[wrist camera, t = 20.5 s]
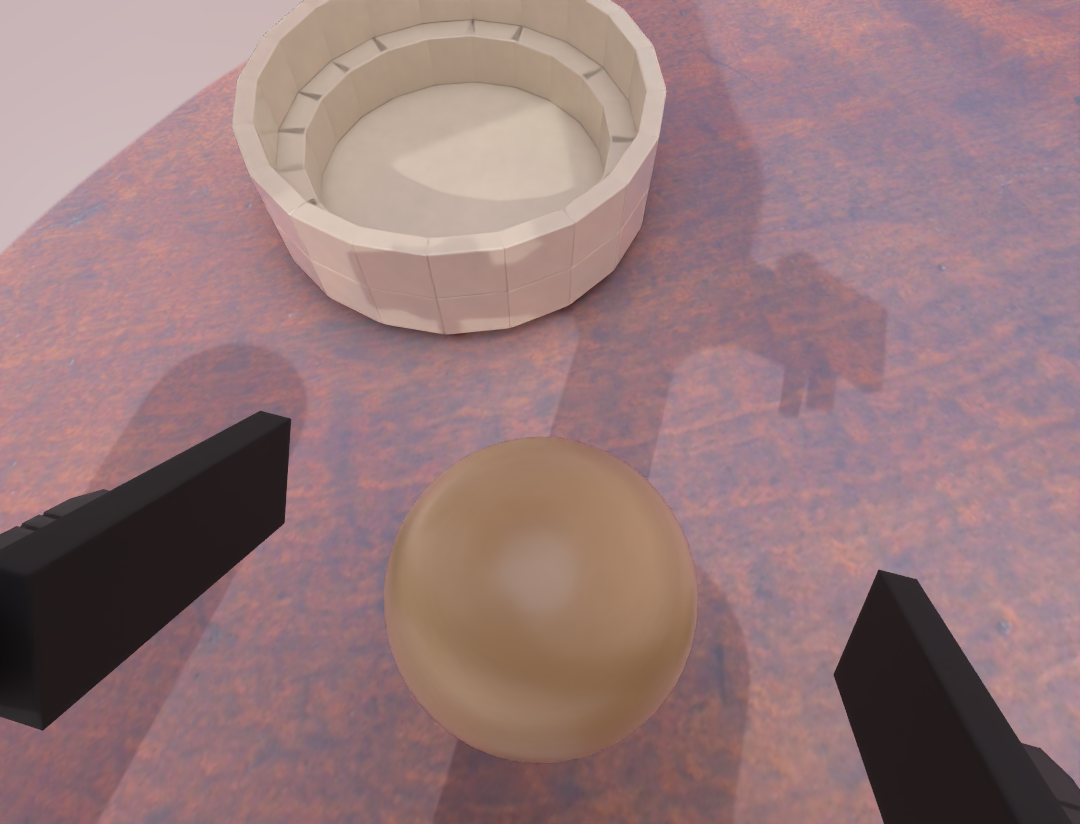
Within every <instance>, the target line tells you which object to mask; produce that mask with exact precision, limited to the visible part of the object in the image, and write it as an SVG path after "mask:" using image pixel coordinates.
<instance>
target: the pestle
mask: <svg viewBox="0 0 1080 824" xmlns="http://www.w3.org/2000/svg"><path fill="white" fill-rule="evenodd" d="M697 612H698V584H697V577H696V571H695V564H694V560H693V557H692V553H691V550H690V547H689V543H688V541H687V539H686V536H685V534H684V532H683V529H682V527H681V525H680V523H679V521H678V520H677V518H676V516H675V515H674V513H673V511H672V510H671V508H670V506H669V505H668V504H667V503H666V501H665V500H664V499H663V497H662V496H661V495H660V493H659V492H658V491H657V490H656V489H655V488H654V487H653V485H652V484H651V483H650V482H649V481H648V480H647V479H646V478H645V477H644V476H642V475H641V474H640V473H639V472H637V471H636V470H635V469H634V468H632V467H631V466H630V465H629V464H627V463H625V462H624V461H622V460H620V459H619V458H617V457H616V456H614V455H612V454H610V453H608V452H606V451H603V450H601V449H599V448H597V447H594V446H591V445H588V444H585V443H582V442H578V441H573V440H568V439H563V438H552V437H529V438H520V439H514V440H508V441H504V442H501V443H497V444H494V445H490V446H488V447H485V448H483V449H481V450H478V451H476V452H474V453H471V454H470V455H468V456H466V457H465V458H463V459H461V460H460V461H458V462H456V463H455V464H453V465H452V466H451V467H449V468H448V469H447V470H445V471H444V472H443V473H442V474H440V475H439V476H438V477H437V478H436V479H435V480H434V481H433V482H432V483H431V484H430V485H429V486H428V487H427V488H426V489H425V491H424V492H423V493H422V494H421V496H420V497H419V498H418V499H417V501H416V502H415V503H414V505H413V506H412V508H411V509H410V511H409V513H408V514H407V516H406V517H405V519H404V521H403V522H402V525H401V527H400V529H399V531H398V533H397V536H396V538H395V540H394V543H393V546H392V549H391V553H390V556H389V559H388V564H387V570H386V575H385V583H384V613H385V625H386V631H387V635H388V640H389V645H390V648H391V651H392V654H393V657H394V660H395V662H396V665H397V668H398V670H399V672H400V674H401V676H402V677H403V679H404V681H405V683H406V685H407V687H408V689H409V690H410V691H411V693H412V694H413V696H414V697H415V698H416V700H417V701H418V703H419V704H420V705H421V706H422V707H423V709H424V710H425V711H426V712H427V713H428V714H429V715H430V716H431V717H432V718H433V719H434V720H435V721H436V722H437V723H438V724H439V725H441V726H442V727H443V728H445V729H446V730H447V731H448V732H450V733H451V734H452V735H453V736H455V737H456V738H458V739H460V740H461V741H463V742H465V743H466V744H468V745H470V746H472V747H473V748H475V749H478V750H480V751H483V752H485V753H488V754H490V755H493V756H496V757H500V758H504V759H508V760H512V761H516V762H527V763H538V764H539V763H556V762H564V761H569V760H574V759H579V758H583V757H586V756H589V755H591V754H594V753H597V752H599V751H602V750H604V749H606V748H608V747H610V746H612V745H614V744H615V743H617V742H619V741H621V740H623V739H624V738H625V737H627V736H628V735H629V734H631V733H632V732H633V731H635V730H636V729H637V728H639V727H640V726H641V725H643V724H644V723H645V722H646V721H647V720H648V719H649V718H650V717H651V716H652V715H653V714H654V713H655V712H656V711H657V710H658V709H659V707H660V706H661V705H662V703H663V702H664V701H665V699H666V698H667V697H668V696H669V694H670V693H671V692H672V690H673V688H674V686H675V685H676V683H677V681H678V679H679V677H680V675H681V674H682V672H683V669H684V667H685V664H686V662H687V659H688V657H689V654H690V651H691V647H692V643H693V639H694V635H695V631H696V622H697Z"/></svg>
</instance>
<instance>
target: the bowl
mask: <svg viewBox="0 0 1080 824" xmlns="http://www.w3.org/2000/svg"><path fill="white" fill-rule="evenodd" d="M666 94H667V92H666V87H665V83H664V80H663V76H662V73H661V70H660V66H659V63H658V59H657V56H656V53H655V49H654V47H653V44H652V43H651V42H650V41H649V39H648V38H647V37H646V36H645V35H644V33H643V32H642V31H641V30H640V28H639V27H638V26H637V25H636V23H635V22H634V21H633V20H632V19H631V17H630V16H629V15H628V14H627V12H626V11H625V10H624V9H623V8H622V7H620V6H619V5H617V4H615V3H614V2H612V1H611V0H303V2H301V3H299V5H297V6H296V7H295V8H294V9H293V10H292V11H291V12H289V13H288V14H287V15H286V16H285V17H284V18H282V19H281V20H280V21H279V22H278V23H277V24H276V25H275V26H273V27H272V28H271V29H270V30H269V31H268V32H266V33H265V34H264V35H263V37H262V38H261V40H260V41H259V43H258V45H257V46H256V48H255V50H254V52H253V53H252V55H251V57H250V58H249V60H248V62H247V63H246V65H245V67H244V69H243V70H242V72H241V74H240V75H239V77H238V80H237V85H236V93H235V102H234V110H233V119H232V130H233V133H234V135H235V138H236V141H237V144H238V146H239V149H240V152H241V155H242V157H243V160H244V163H245V166H246V168H247V171H248V174H249V176H250V178H251V180H252V181H253V183H254V185H255V187H256V189H257V191H258V193H259V195H260V197H261V199H262V201H263V203H264V204H265V206H266V208H267V210H268V212H269V214H270V216H271V218H272V220H273V222H274V224H275V226H276V228H277V229H278V231H279V233H280V235H281V237H282V239H283V241H284V243H285V245H286V247H287V249H288V251H289V253H290V254H291V256H292V258H293V260H294V261H295V262H296V263H297V264H298V265H299V266H300V267H301V269H302V270H303V271H304V272H305V273H306V274H307V275H308V276H309V277H310V278H311V279H312V280H313V281H314V282H315V283H316V284H317V285H318V286H319V287H320V288H321V289H322V291H323V292H324V293H325V294H326V295H327V296H329V297H330V298H331V299H333V300H335V301H337V302H339V303H341V304H343V305H345V306H347V307H349V308H351V309H353V310H355V311H357V312H359V313H361V314H363V315H365V316H367V317H369V318H371V319H373V320H375V321H377V322H379V323H383V324H386V325H392V326H397V327H403V328H409V329H415V330H421V331H427V332H433V333H439V334H446V335H448V334H458V333H468V332H478V331H488V330H498V329H508V328H512V327H515V326H518V325H520V324H523V323H525V322H528V321H531V320H533V319H536V318H538V317H541V316H543V315H546V314H549V313H551V312H554V311H556V310H559V309H562V308H564V307H567V306H569V305H570V304H572V303H573V302H574V301H575V300H577V299H578V298H579V297H581V296H582V295H583V294H584V293H586V292H587V291H588V290H589V289H591V288H592V287H593V286H595V285H596V284H597V283H598V282H600V281H601V280H602V279H604V278H605V277H606V276H607V275H609V274H610V273H611V272H613V270H614V269H615V268H616V266H617V265H618V263H619V262H620V260H621V259H622V257H623V255H624V254H625V252H626V251H627V249H628V247H629V246H630V244H631V243H632V241H633V240H634V238H635V236H636V235H637V233H638V232H639V230H640V228H641V227H642V222H643V217H644V212H645V207H646V202H647V197H648V192H649V186H650V181H651V176H652V171H653V166H654V161H655V156H656V151H657V146H658V141H659V136H660V130H661V124H662V118H663V112H664V106H665V100H666Z"/></svg>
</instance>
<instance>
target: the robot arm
mask: <svg viewBox="0 0 1080 824" xmlns="http://www.w3.org/2000/svg"><path fill="white" fill-rule="evenodd" d="M290 427H291V419H290V418H286V417H282V416H278V415H274V414H270V413H266V412H262V411H259V412H257V413H255V414H254V415H252V416H250V417H248V418H246V419H244V420H242V421H240V422H239V423H237V424H235V425H233V426H231V427H229V428H227V429H225V430H224V431H222V432H220V433H218V434H216V435H214V436H212V437H210V438H209V439H207V440H205V441H203V442H201V443H199V444H197V445H195V446H194V447H192V448H190V449H188V450H186V451H184V452H182V453H180V454H179V455H177V456H175V457H173V458H171V459H169V460H167V461H165V462H164V463H162V464H160V465H158V466H156V467H154V468H152V469H150V470H149V471H147V472H145V473H143V474H141V475H139V476H137V477H135V478H134V479H132V480H130V481H128V482H126V483H124V484H122V485H120V486H119V487H117V488H115V489H113V490H111V491H108V490H104V489H103V490H100V491H96V492H92V493H89V494H85V495H82V496H78V497H74V498H71V499H69V500H67V501H65V502H63V503H61V504H59V505H57V506H55V507H53V508H51V509H49V510H47V511H45V512H44V514H43V515H38V516H36V517H34V518H32V519H30V520H28V521H26V522H24V523H22V526H21V527H18V526H16V527H14V528H12V529H10V530H8V531H6V532H4V533H2V534H0V717H3V718H6V719H9V720H12V721H15V722H18V723H22V724H25V725H28V726H31V727H34V728H37V729H40V730H44V729H45V728H46V727H48V726H49V725H50V724H51V723H52V722H53V721H55V720H56V719H57V718H58V717H59V716H60V715H62V714H63V713H64V712H65V711H66V710H67V709H69V708H70V707H71V706H72V705H73V704H74V703H76V702H77V701H78V700H79V699H80V698H81V697H82V696H84V695H85V694H86V693H87V692H88V691H89V690H91V689H92V688H93V687H94V686H95V685H96V684H98V683H99V682H100V681H101V680H102V679H103V678H105V677H106V676H107V675H108V674H109V673H110V672H112V671H113V670H114V669H115V668H116V667H117V666H119V665H120V664H121V663H122V662H123V661H124V660H126V659H127V658H128V657H129V656H130V655H131V654H133V653H134V652H135V651H136V650H137V649H138V648H140V647H141V646H142V645H143V644H144V643H145V642H147V641H148V640H149V639H150V638H151V637H152V636H154V635H155V634H156V633H157V632H158V631H159V630H161V629H162V628H163V627H164V626H165V625H166V624H168V623H169V622H170V621H171V620H172V619H173V618H175V617H176V616H177V615H178V614H179V613H180V612H182V611H183V610H184V609H185V608H186V607H187V606H189V605H190V604H191V603H192V602H193V601H194V600H196V599H197V598H198V597H199V596H200V595H201V594H203V593H204V592H205V591H206V590H207V589H208V588H210V587H211V586H212V585H213V584H214V583H215V582H217V581H218V580H219V579H220V578H221V577H222V576H224V575H225V574H226V573H227V572H228V571H229V570H230V569H232V568H233V567H234V566H235V565H236V564H237V563H239V562H240V561H241V560H242V559H243V558H244V557H246V556H247V555H248V554H249V553H250V552H251V551H253V550H254V549H255V548H256V547H257V546H258V545H260V544H261V543H262V542H263V541H264V540H265V539H267V538H268V537H269V536H270V535H271V534H272V533H274V532H275V531H276V530H277V529H278V528H279V527H281V526H282V525H283V524H284V523H285V507H286V491H287V475H288V459H289V443H290ZM834 677H835V680H836V683H837V686H838V689H839V692H840V695H841V698H842V701H843V704H844V707H845V710H846V713H847V716H848V719H849V722H850V725H851V728H852V731H853V733H854V736H855V739H856V742H857V745H858V748H859V751H860V754H861V757H862V760H863V763H864V766H865V769H866V772H867V775H868V778H869V781H870V784H871V787H872V789H873V792H874V795H875V798H876V801H877V804H878V807H879V810H880V813H881V816H882V819H883V822H884V824H1080V789H1079V788H1078V786H1077V785H1076V783H1075V782H1074V780H1073V779H1072V778H1071V777H1070V776H1069V775H1068V774H1067V773H1066V772H1065V771H1064V770H1063V769H1062V768H1061V767H1059V766H1058V765H1057V764H1056V763H1055V762H1054V761H1053V760H1052V759H1051V758H1050V757H1049V756H1048V755H1047V754H1046V753H1045V752H1044V751H1043V750H1042V749H1041V748H1037V747H1034V746H1030V745H1027V744H1023V743H1021V742H1020V741H1019V739H1018V737H1017V736H1016V734H1015V733H1014V731H1013V730H1012V728H1011V726H1010V725H1009V723H1008V722H1007V720H1006V719H1005V717H1004V715H1003V714H1002V712H1001V711H1000V709H999V708H998V706H997V704H996V703H995V701H994V700H993V698H992V697H991V695H990V693H989V692H988V690H987V689H986V687H985V686H984V684H983V683H982V681H981V679H980V678H979V676H978V675H977V673H976V672H975V670H974V668H973V667H972V665H971V664H970V662H969V661H968V659H967V657H966V656H965V654H964V653H963V651H962V650H961V648H960V646H959V645H958V643H957V642H956V640H955V639H954V637H953V635H952V634H951V632H950V631H949V629H948V628H947V626H946V624H945V623H944V621H943V620H942V618H941V617H940V615H939V613H938V612H937V610H936V609H935V607H934V606H933V604H932V603H931V601H930V599H929V598H928V596H927V595H926V593H925V592H924V590H923V588H922V587H921V585H920V584H919V582H918V581H917V579H913V578H909V577H905V576H901V575H897V574H894V573H890V572H886V571H882V570H878V572H877V575H876V577H875V579H874V582H873V584H872V586H871V589H870V591H869V593H868V596H867V598H866V600H865V603H864V605H863V607H862V610H861V612H860V614H859V617H858V619H857V621H856V624H855V626H854V628H853V631H852V633H851V635H850V638H849V640H848V642H847V645H846V647H845V649H844V652H843V654H842V656H841V659H840V661H839V663H838V666H837V668H836V670H835V673H834Z"/></svg>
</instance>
